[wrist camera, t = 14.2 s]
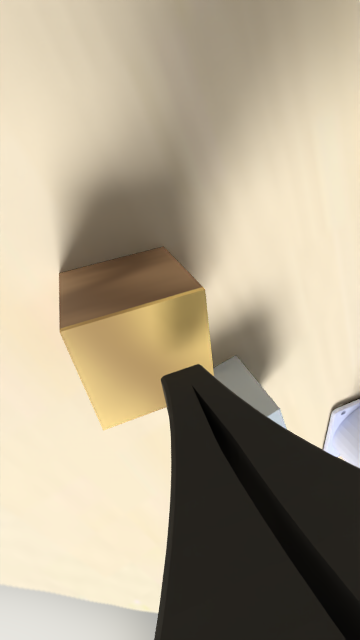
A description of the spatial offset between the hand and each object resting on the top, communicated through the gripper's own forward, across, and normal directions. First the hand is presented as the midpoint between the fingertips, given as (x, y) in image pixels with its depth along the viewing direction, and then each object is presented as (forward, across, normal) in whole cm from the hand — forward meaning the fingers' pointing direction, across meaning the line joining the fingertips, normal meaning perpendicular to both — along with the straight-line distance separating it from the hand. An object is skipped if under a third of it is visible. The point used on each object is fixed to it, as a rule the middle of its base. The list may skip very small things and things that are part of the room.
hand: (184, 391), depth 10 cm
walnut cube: (+2, +1, 0) cm, 2 cm away
